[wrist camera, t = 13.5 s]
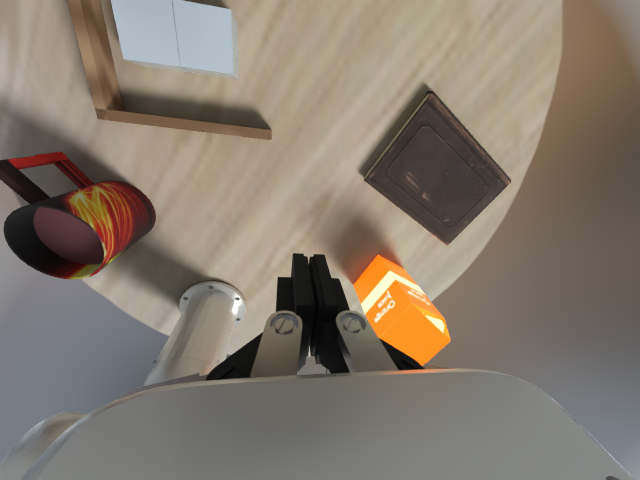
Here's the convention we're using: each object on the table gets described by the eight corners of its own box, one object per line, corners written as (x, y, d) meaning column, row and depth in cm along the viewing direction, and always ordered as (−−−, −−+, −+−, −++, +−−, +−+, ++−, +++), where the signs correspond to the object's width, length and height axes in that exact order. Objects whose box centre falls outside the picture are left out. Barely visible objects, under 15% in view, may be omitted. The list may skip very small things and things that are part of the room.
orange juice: (352, 285, 50) (388, 372, 33) (377, 253, 48) (432, 331, 30) (379, 297, 53) (426, 385, 35) (404, 268, 50) (469, 348, 33)
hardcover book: (440, 240, 49) (447, 245, 47) (360, 177, 41) (364, 180, 39) (503, 177, 44) (513, 180, 42) (426, 91, 36) (434, 89, 34)
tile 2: (192, 73, 31) (180, 66, 28) (142, 66, 30) (123, 58, 27) (185, 14, 29) (171, -2, 25) (130, 4, 28) (107, -13, 24)
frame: (271, 138, 36) (270, 139, 33) (115, 119, 32) (97, 119, 29) (276, -48, 27) (275, -71, 24) (65, -103, 23) (31, -137, 20)
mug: (65, 148, 33) (-41, 160, 22) (165, 203, 38) (119, 234, 27) (46, 202, 36) (-57, 236, 25) (142, 247, 41) (91, 291, 30)
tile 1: (239, 79, 32) (233, 74, 29) (192, 72, 31) (180, 66, 28) (237, 23, 29) (230, 9, 26) (186, 13, 29) (171, -2, 25)
